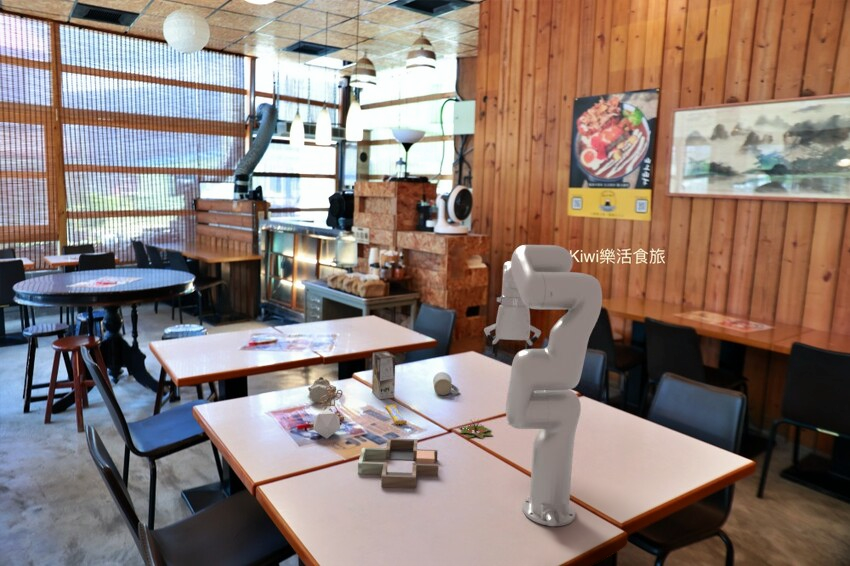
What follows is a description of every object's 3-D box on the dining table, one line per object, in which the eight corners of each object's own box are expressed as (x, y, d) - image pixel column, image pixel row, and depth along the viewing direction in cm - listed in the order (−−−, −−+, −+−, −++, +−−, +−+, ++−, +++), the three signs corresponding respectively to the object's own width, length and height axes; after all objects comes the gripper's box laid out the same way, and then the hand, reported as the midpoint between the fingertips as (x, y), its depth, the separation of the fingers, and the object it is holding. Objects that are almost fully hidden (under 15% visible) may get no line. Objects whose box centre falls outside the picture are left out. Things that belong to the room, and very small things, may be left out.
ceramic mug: (433, 396, 222) (434, 377, 221) (432, 389, 230) (433, 371, 229) (459, 397, 222) (460, 378, 221) (458, 390, 230) (459, 372, 229)
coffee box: (395, 397, 219) (396, 356, 216) (379, 399, 216) (380, 358, 214) (386, 390, 227) (387, 350, 225) (371, 392, 224) (371, 352, 222)
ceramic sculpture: (303, 381, 207) (310, 371, 222) (303, 405, 208) (309, 393, 223) (333, 382, 208) (337, 372, 222) (333, 405, 208) (337, 394, 223)
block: (434, 472, 161) (434, 458, 160) (416, 471, 161) (416, 458, 160) (433, 464, 166) (434, 450, 165) (416, 463, 166) (416, 450, 165)
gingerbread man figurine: (318, 422, 192) (318, 388, 191) (316, 418, 196) (316, 384, 194) (344, 419, 196) (344, 386, 194) (341, 415, 199) (342, 382, 197)
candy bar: (407, 425, 193) (407, 420, 193) (395, 426, 192) (395, 421, 192) (395, 408, 209) (395, 403, 209) (384, 409, 208) (384, 404, 208)
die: (345, 438, 182) (344, 408, 187) (330, 433, 175) (329, 403, 180) (323, 443, 185) (323, 413, 190) (307, 438, 178) (307, 408, 182)
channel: (438, 488, 151) (438, 478, 151) (354, 486, 151) (354, 475, 151) (436, 449, 175) (437, 439, 175) (364, 446, 175) (364, 437, 175)
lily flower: (464, 442, 182) (464, 428, 181) (452, 427, 193) (453, 414, 192) (499, 439, 185) (500, 425, 184) (485, 425, 196) (486, 412, 196)
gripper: (486, 302, 171) (483, 358, 173) (544, 305, 170) (541, 361, 173) (484, 298, 178) (482, 352, 181) (540, 300, 178) (537, 354, 180)
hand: (511, 356), depth 177 cm, fingers open, 9 cm apart
